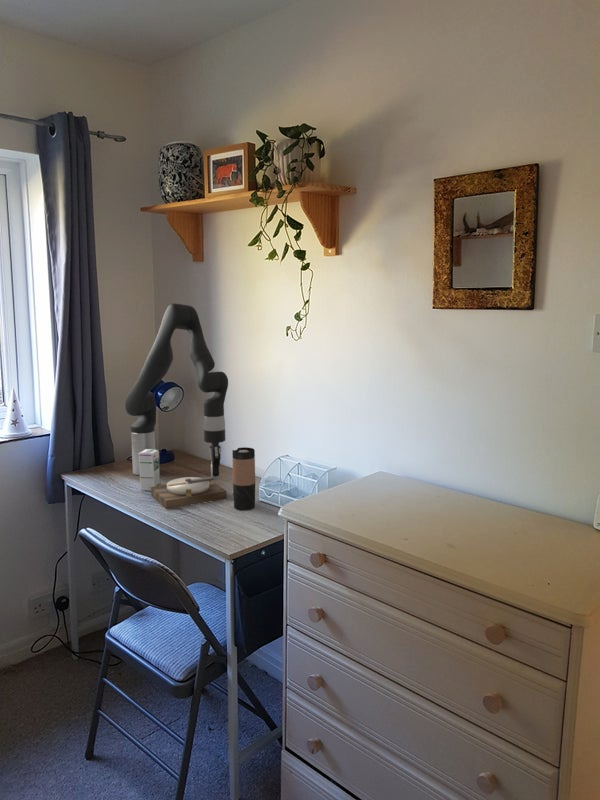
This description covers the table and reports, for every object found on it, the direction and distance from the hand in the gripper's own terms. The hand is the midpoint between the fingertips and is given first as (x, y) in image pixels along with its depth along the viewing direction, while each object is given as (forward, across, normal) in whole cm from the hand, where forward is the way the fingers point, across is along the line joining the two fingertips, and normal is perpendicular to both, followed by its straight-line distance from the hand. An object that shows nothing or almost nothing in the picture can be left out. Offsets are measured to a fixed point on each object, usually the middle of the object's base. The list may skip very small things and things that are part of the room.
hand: (215, 475), depth 229 cm
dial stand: (+8, +1, +10) cm, 12 cm away
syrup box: (+7, +15, +23) cm, 29 cm away
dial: (+4, +2, +8) cm, 9 cm away
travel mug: (+8, -14, -8) cm, 18 cm away
